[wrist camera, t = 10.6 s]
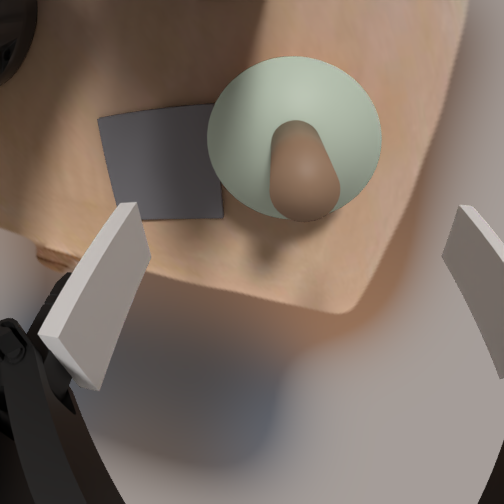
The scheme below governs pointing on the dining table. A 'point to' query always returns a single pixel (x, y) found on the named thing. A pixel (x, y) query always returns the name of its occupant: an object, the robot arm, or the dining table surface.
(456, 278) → the robot arm
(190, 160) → the mat
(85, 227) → the dining table surface
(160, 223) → the dining table surface
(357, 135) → the lid
